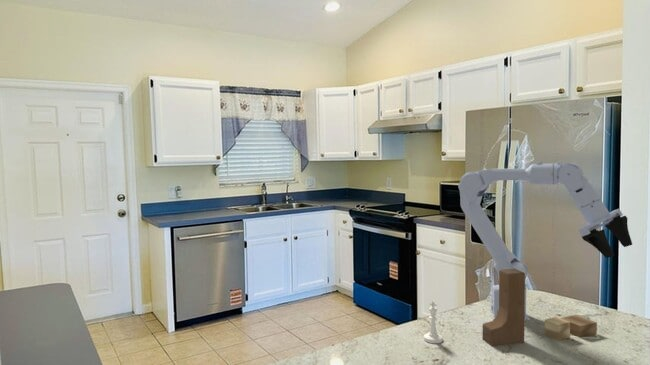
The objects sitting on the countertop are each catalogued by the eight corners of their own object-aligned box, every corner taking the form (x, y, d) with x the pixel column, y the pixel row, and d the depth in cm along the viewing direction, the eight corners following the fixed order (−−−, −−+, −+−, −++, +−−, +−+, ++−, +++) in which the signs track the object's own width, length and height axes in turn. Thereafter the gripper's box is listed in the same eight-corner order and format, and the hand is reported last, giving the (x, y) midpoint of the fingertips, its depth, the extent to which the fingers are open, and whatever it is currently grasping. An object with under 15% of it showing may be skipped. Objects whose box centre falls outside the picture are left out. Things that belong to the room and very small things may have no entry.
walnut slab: (579, 337, 113) (580, 325, 112) (559, 329, 118) (559, 318, 118) (596, 333, 115) (596, 322, 115) (575, 325, 120) (575, 314, 120)
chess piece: (430, 334, 117) (430, 296, 117) (446, 339, 114) (446, 300, 113) (419, 339, 114) (419, 301, 113) (436, 345, 110) (436, 305, 110)
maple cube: (558, 340, 111) (558, 324, 111) (545, 334, 115) (544, 319, 115) (570, 337, 113) (569, 322, 112) (556, 331, 116) (556, 316, 116)
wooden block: (491, 348, 108) (492, 274, 107) (481, 340, 113) (482, 270, 112) (524, 344, 110) (525, 272, 109) (513, 337, 114) (514, 268, 113)
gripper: (583, 208, 111) (615, 258, 107) (619, 189, 116) (650, 236, 113) (562, 216, 117) (591, 264, 114) (597, 199, 123) (626, 243, 119)
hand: (619, 251), depth 114 cm, fingers open, 7 cm apart
